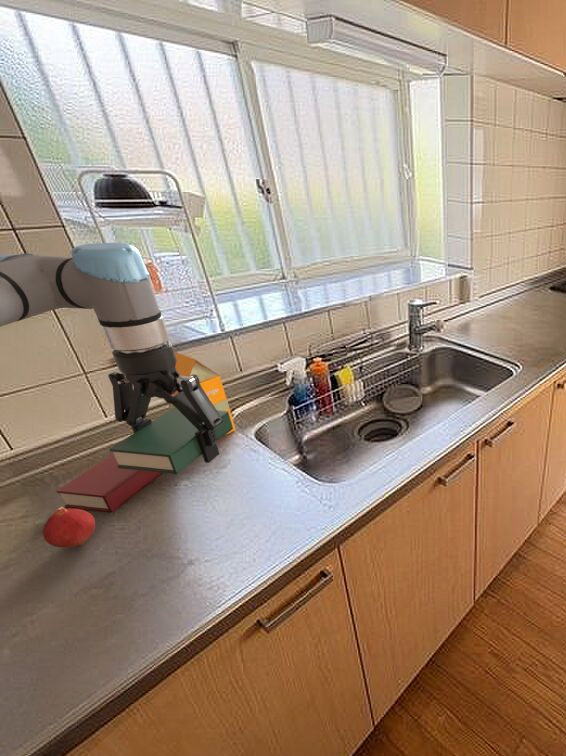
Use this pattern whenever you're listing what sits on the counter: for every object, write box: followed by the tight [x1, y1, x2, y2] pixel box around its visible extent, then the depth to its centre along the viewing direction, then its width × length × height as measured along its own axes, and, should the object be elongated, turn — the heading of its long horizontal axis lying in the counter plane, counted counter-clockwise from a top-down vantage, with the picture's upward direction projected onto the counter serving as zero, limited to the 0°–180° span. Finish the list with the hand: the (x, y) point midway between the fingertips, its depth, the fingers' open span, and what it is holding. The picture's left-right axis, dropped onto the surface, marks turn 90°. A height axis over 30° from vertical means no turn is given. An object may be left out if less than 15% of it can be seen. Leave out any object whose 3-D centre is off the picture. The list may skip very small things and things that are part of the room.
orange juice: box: [167, 351, 236, 436], centre depth 94 cm, size 8×9×20 cm
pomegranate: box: [42, 506, 96, 548], centre depth 68 cm, size 6×6×8 cm
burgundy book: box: [56, 453, 163, 513], centre depth 82 cm, size 9×16×4 cm, turn 175°
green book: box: [108, 407, 233, 475], centre depth 76 cm, size 10×14×4 cm
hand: (183, 455), depth 78 cm, fingers closed on green book, 10 cm apart
